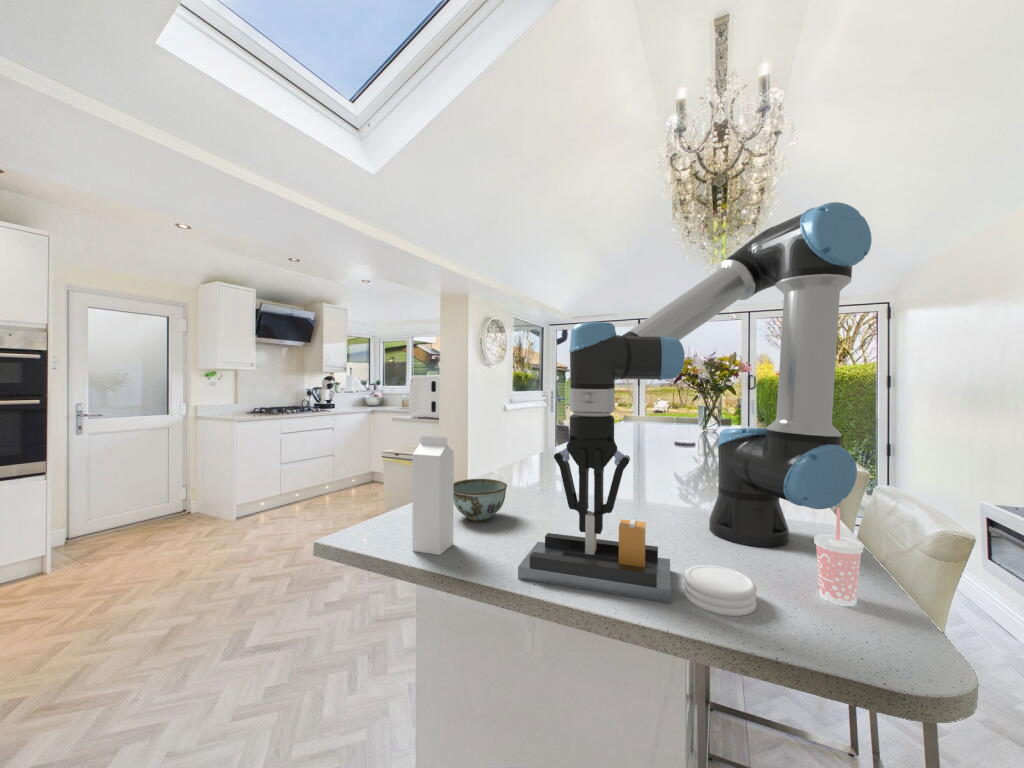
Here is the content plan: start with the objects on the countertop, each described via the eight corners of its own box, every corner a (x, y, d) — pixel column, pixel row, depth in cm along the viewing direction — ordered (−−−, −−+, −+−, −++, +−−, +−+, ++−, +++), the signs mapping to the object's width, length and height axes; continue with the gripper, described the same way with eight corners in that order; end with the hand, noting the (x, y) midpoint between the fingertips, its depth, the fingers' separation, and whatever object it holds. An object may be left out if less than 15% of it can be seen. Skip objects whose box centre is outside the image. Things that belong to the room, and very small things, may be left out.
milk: (427, 541, 90) (427, 434, 90) (454, 544, 88) (454, 435, 88) (411, 551, 85) (411, 437, 85) (439, 555, 83) (440, 438, 83)
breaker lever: (645, 563, 74) (645, 521, 74) (644, 572, 70) (644, 528, 70) (620, 559, 76) (621, 518, 75) (618, 569, 72) (618, 525, 72)
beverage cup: (808, 586, 71) (809, 500, 71) (855, 594, 68) (856, 504, 68) (818, 604, 65) (819, 511, 65) (869, 613, 63) (870, 516, 63)
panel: (669, 570, 77) (670, 547, 77) (670, 603, 65) (670, 576, 65) (537, 551, 85) (537, 531, 85) (517, 578, 73) (518, 554, 73)
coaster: (765, 601, 67) (766, 578, 67) (742, 626, 60) (743, 601, 60) (699, 579, 74) (699, 558, 74) (672, 600, 67) (672, 577, 67)
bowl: (483, 506, 115) (483, 476, 115) (518, 518, 105) (518, 485, 105) (439, 517, 105) (439, 484, 105) (473, 532, 96) (473, 495, 95)
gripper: (549, 414, 74) (548, 554, 74) (629, 416, 69) (628, 565, 70) (559, 411, 81) (558, 539, 81) (632, 413, 76) (631, 548, 77)
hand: (590, 551), depth 75 cm, fingers closed
